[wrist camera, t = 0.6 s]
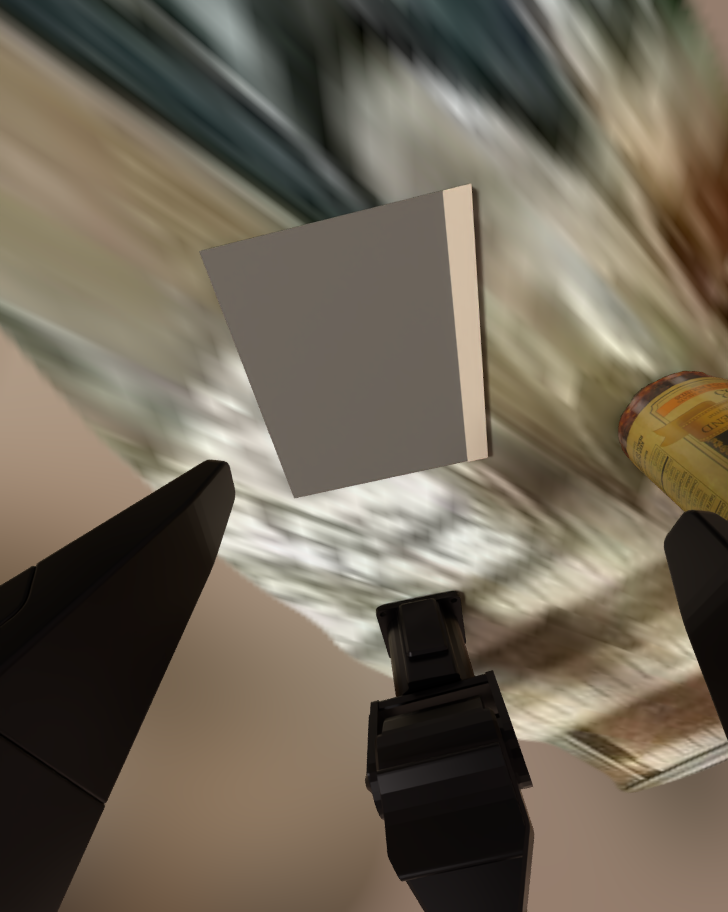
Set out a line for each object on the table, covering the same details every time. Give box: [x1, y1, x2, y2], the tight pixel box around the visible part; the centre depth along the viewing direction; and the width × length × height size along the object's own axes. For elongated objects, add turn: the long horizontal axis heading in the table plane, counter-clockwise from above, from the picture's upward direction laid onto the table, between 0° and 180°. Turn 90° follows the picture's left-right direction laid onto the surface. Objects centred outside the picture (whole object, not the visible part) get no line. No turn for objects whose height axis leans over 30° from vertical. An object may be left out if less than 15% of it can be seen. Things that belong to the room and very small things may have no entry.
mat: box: [199, 184, 488, 498], centre depth 22 cm, size 14×12×1 cm
